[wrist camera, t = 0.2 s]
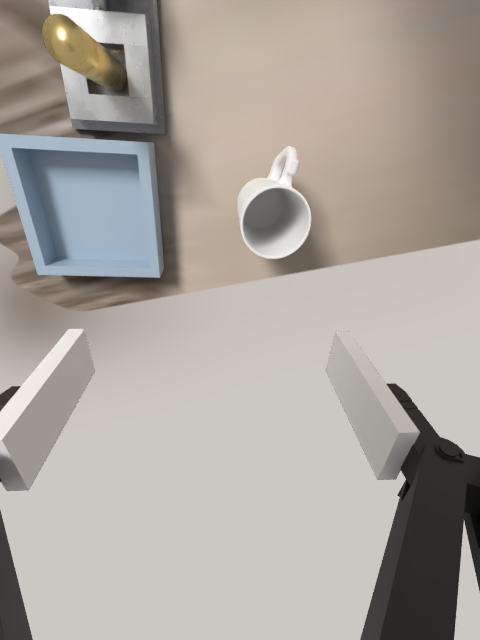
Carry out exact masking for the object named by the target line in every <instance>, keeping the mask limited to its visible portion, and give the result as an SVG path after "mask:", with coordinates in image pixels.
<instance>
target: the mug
mask: <svg viewBox="0 0 480 640" xmlns="http://www.w3.org/2000/svg"><path fill="white" fill-rule="evenodd" d="M298 167H299V161H298V158H297V152H296V150H295V148H294V147H291V146H289V147H287V148H285V149H284V150H283V151H282V152H281V153H280V154H279V155H278V156H277V158H276V159H275V160H274V162H273V165H272V168H271V171H270V174H269V176H268V177H267V178H257V179H253V180H251V181H250V182H248V183H247V184H246V185H245V186H244V187H243V188H242V190H241V191H240V193H239V196H238V200H237V211H238V217H239V223H240V228H241V233H242V237H243V239H244V241H245V243H246V245H247V246H248V248H249V249H250V250H251V251H252V252H254V253H255V254H256V255H258V256H260V257H263V258H267V259H279V258H283V257H286V256H288V255H290V254H292V253H294V252H295V251H296V250H297V249H299V248H300V247H301V245H302V244H303V243H304V241H305V240H306V238H307V236H308V234H309V231H310V227H311V211H310V208H309V205H308V203H307V201H306V199H305V198H304V197H303V196H302V194H301V193H299V192H298V191H297V190H295V189H294V188H293V187H292V181H293V178H294V175H295V174H296V172H297V169H298ZM282 172H283V173H282Z"/></svg>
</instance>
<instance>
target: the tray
mask: <svg viewBox="0 0 480 640" xmlns="http://www.w3.org/2000/svg"><path fill="white" fill-rule="evenodd" d="M0 152H1V155H2V159H3V162H4V165H5V168H6V172H7V175H8V178H9V182H10V185H11V188H12V191H13V194H14V198H15V201H16V205H17V208H18V211H19V214H20V218H21V221H22V224H23V227H24V231H25V234H26V237H27V241H28V244H29V247H30V250H31V254H32V257H33V260H34V263H35V267H36V270H37V273H38V275H71V276H113V277H155V278H160V276H161V274H162V272H163V270H164V258H163V245H162V233H161V221H160V208H159V196H158V184H157V171H156V159H155V147H154V143H151V142H135V141H118V140H100V139H83V138H65V137H48V136H30V135H13V134H0Z"/></svg>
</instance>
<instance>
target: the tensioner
mask: <svg viewBox="0 0 480 640" xmlns="http://www.w3.org/2000/svg"><path fill="white" fill-rule="evenodd" d="M48 2H49V8H50V13H51V15H52V14H63V15H65V16H67V17H69V18H70V19H71V20H73V21H74V22H75V23H76V24H77V25H78V26H80V27H81V28H82V29H83V30H84V31H85V32H86V33H88V34H89V35H90V36H91V37H92V38H93V39H94V40H96V41H97V42H98V43H99V44H100V45H101V46H102V47H104V48H105V49H106V50H107V51H108V52H109V53H110V54H112V55H113V56H114V57H115V58H116V59H117V60H118V61H120V63H121V64H122V65H123V67H124V69H125V72H126V83H125V85H124V87H123V88H122V89H121V90H119V91H111V90H109V89H107V88H105V87H103V86H101V85H99V84H98V83H96V82H94V81H92V80H90V79H88V78H86V77H85V76H83V75H81V74H79V73H77V72H75V71H73V70H72V69H70V68H68V67H66V66H64V65H62V64H60V65H61V70H62V75H63V80H64V85H65V90H66V96H67V101H68V106H69V111H70V116H71V121H72V126H73V129H83V130H100V131H117V132H134V133H150V134H166V128H165V112H164V96H163V81H162V65H161V49H160V33H159V18H158V2H157V0H48Z"/></svg>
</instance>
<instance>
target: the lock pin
mask: <svg viewBox="0 0 480 640" xmlns="http://www.w3.org/2000/svg"><path fill="white" fill-rule="evenodd" d="M42 34H43V40H44V44H45V46H46V48H47V50H48V52H49V53H50V55H51V56H52V57H53V58H54V59H55V60H56V61H57V62H59V63H60V64H62V65H64V66H66V67H68V68H70V69H72V70H73V71H75V72H77V73H79V74H81V75H83V76H85V77H86V78H88V79H90V80H92V81H94V82H96V83H98V84H99V85H101V86H103V87H105V88H107V89H109V90H111V91H119V90H121V89H122V88H123V87H124V85H125V83H126V72H125V69H124V67H123V65H122V64H121V63H120V61H118V60H117V59H116V58H115V57H114V56H113V55H112V54H110V53H109V52H108V51H107V50H106V49H105V48H104V47H102V46H101V45H100V44H99V43H98V42H97V41H96V40H94V39H93V38H92V37H91V36H90V35H89V34H88V33H86V32H85V31H84V30H83V29H82V28H81V27H80V26H78V25H77V24H76V23H75V22H74V21H73V20H71V19H70V18H69V17H67V16H65V15H63V14H52V15H50V16H49V17H48V18H47V19H46V20H45V22H44V25H43V30H42Z"/></svg>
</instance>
